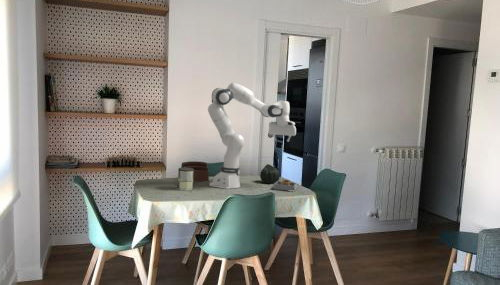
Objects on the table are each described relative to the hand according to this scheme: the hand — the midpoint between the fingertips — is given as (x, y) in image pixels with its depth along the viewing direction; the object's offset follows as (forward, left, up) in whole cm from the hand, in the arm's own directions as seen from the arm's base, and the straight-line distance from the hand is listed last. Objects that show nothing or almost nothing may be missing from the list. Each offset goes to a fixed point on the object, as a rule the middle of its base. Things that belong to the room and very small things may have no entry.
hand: (281, 141), depth 301 cm
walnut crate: (+6, -6, -33) cm, 34 cm away
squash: (-10, +11, -34) cm, 38 cm away
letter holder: (-63, -10, -34) cm, 73 cm away
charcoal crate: (+6, -6, -34) cm, 35 cm away
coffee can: (-57, -41, -34) cm, 78 cm away
